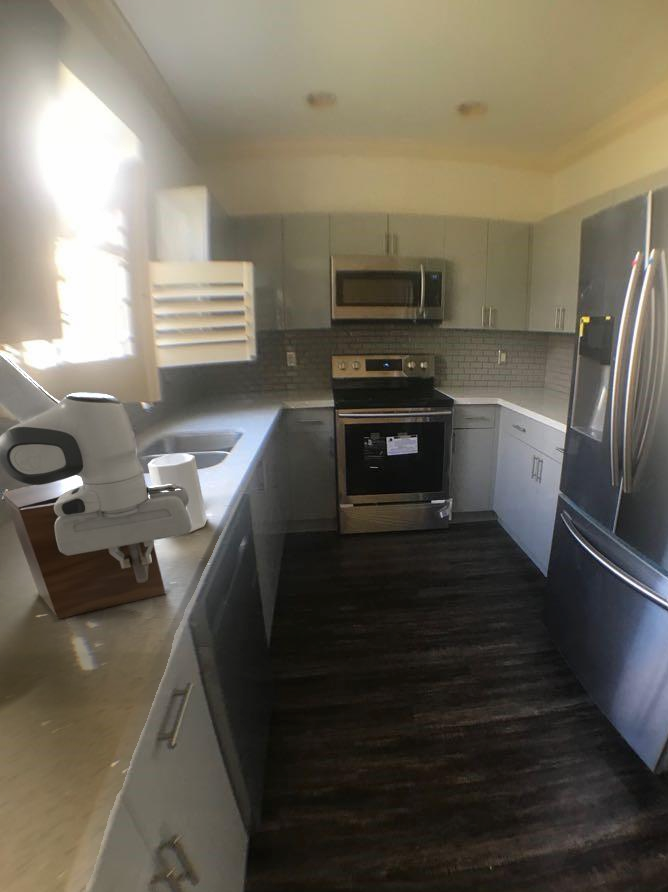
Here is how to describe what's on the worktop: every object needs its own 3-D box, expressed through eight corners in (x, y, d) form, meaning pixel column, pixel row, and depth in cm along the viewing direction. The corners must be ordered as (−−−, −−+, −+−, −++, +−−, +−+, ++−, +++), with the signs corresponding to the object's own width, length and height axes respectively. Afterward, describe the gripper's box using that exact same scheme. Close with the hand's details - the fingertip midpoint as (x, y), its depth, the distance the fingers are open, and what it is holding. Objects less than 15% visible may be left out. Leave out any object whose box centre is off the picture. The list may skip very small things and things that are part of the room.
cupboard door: (165, 612, 86) (138, 503, 78) (50, 641, 79) (7, 525, 71) (165, 591, 93) (140, 489, 85) (58, 616, 86) (20, 508, 78)
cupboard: (155, 576, 99) (131, 478, 90) (57, 616, 86) (18, 507, 78) (132, 559, 106) (108, 467, 98) (39, 594, 93) (2, 492, 85)
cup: (166, 538, 116) (150, 469, 109) (159, 523, 124) (144, 458, 117) (212, 527, 121) (199, 460, 114) (201, 513, 130) (189, 450, 123)
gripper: (184, 476, 82) (198, 545, 87) (51, 495, 75) (75, 568, 80) (184, 487, 77) (199, 560, 82) (41, 509, 70) (67, 586, 75)
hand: (137, 564), depth 81 cm, fingers closed on cupboard door, 2 cm apart
